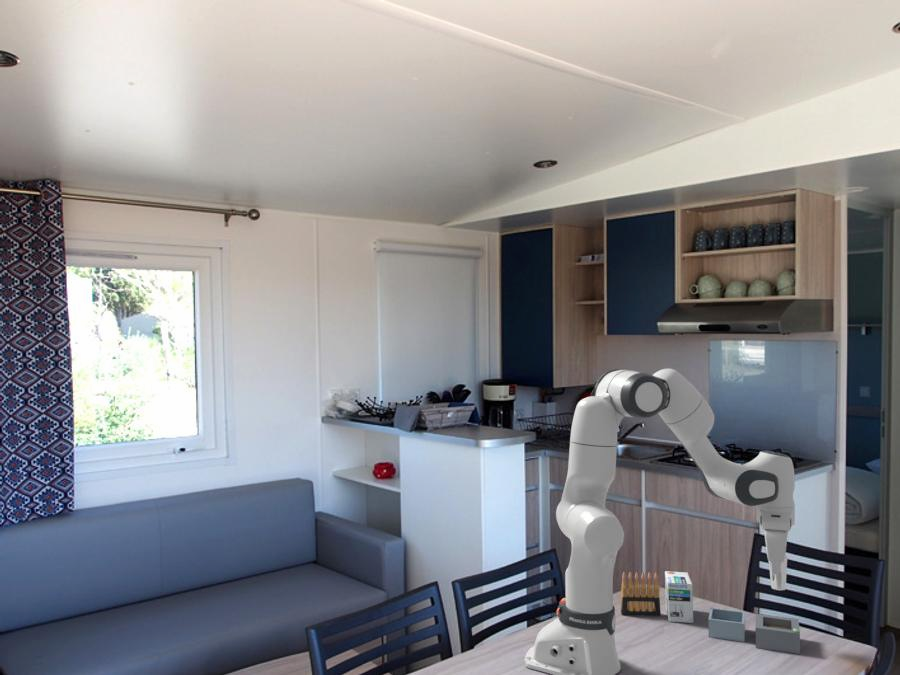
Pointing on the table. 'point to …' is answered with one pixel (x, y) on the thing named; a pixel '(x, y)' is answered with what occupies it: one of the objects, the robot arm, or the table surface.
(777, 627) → the plain tan rectangular plate
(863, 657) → the table surface
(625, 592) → the ammunition clip
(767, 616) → the square frame
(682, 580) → the light bulb box
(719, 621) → the bin
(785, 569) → the milkshake
